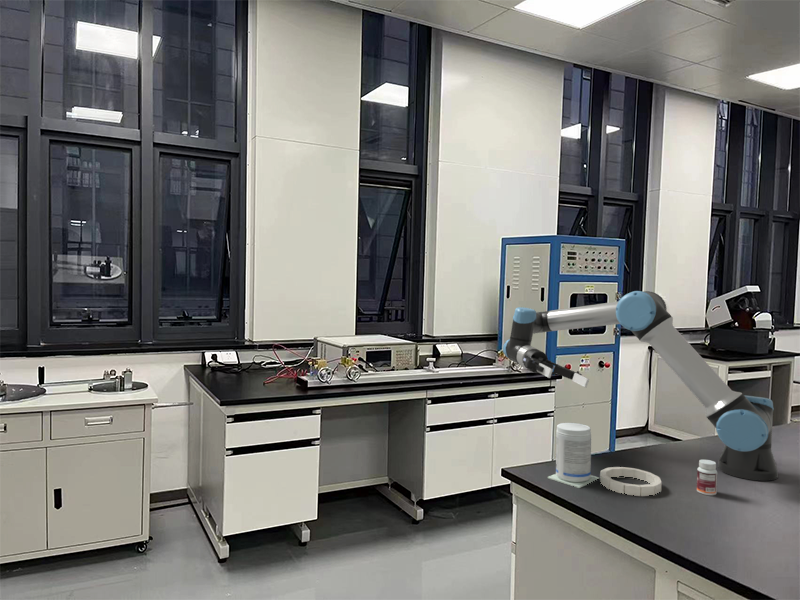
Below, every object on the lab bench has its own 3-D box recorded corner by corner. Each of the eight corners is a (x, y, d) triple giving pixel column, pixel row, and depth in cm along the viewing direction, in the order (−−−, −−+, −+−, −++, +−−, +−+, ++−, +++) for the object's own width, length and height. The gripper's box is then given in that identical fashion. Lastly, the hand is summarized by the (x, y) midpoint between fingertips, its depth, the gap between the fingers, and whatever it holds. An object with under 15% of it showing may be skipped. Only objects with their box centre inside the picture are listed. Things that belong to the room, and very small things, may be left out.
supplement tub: (597, 479, 160) (599, 428, 159) (575, 485, 155) (576, 432, 154) (570, 469, 168) (571, 420, 167) (548, 475, 163) (549, 424, 162)
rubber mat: (599, 479, 161) (599, 477, 161) (579, 488, 154) (579, 486, 154) (568, 470, 169) (568, 468, 169) (547, 478, 161) (547, 476, 161)
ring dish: (670, 486, 156) (670, 477, 156) (645, 500, 146) (645, 491, 146) (616, 471, 168) (616, 463, 168) (589, 484, 157) (590, 475, 157)
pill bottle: (699, 487, 156) (701, 457, 155) (718, 492, 152) (720, 462, 152) (693, 492, 152) (695, 461, 152) (713, 497, 149) (714, 465, 149)
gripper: (559, 377, 194) (597, 398, 174) (497, 361, 186) (530, 381, 166) (566, 357, 194) (605, 375, 174) (504, 340, 186) (538, 357, 166)
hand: (568, 378), depth 170 cm, fingers open, 13 cm apart
